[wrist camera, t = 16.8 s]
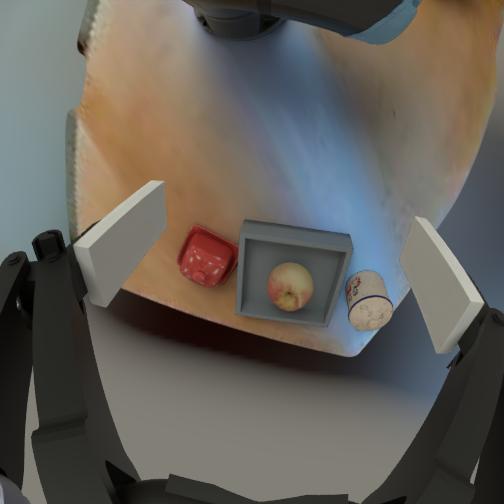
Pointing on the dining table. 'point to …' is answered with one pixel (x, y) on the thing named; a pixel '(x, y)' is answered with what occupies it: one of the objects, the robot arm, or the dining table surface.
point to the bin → (297, 251)
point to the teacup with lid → (368, 301)
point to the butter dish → (207, 257)
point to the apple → (290, 286)
